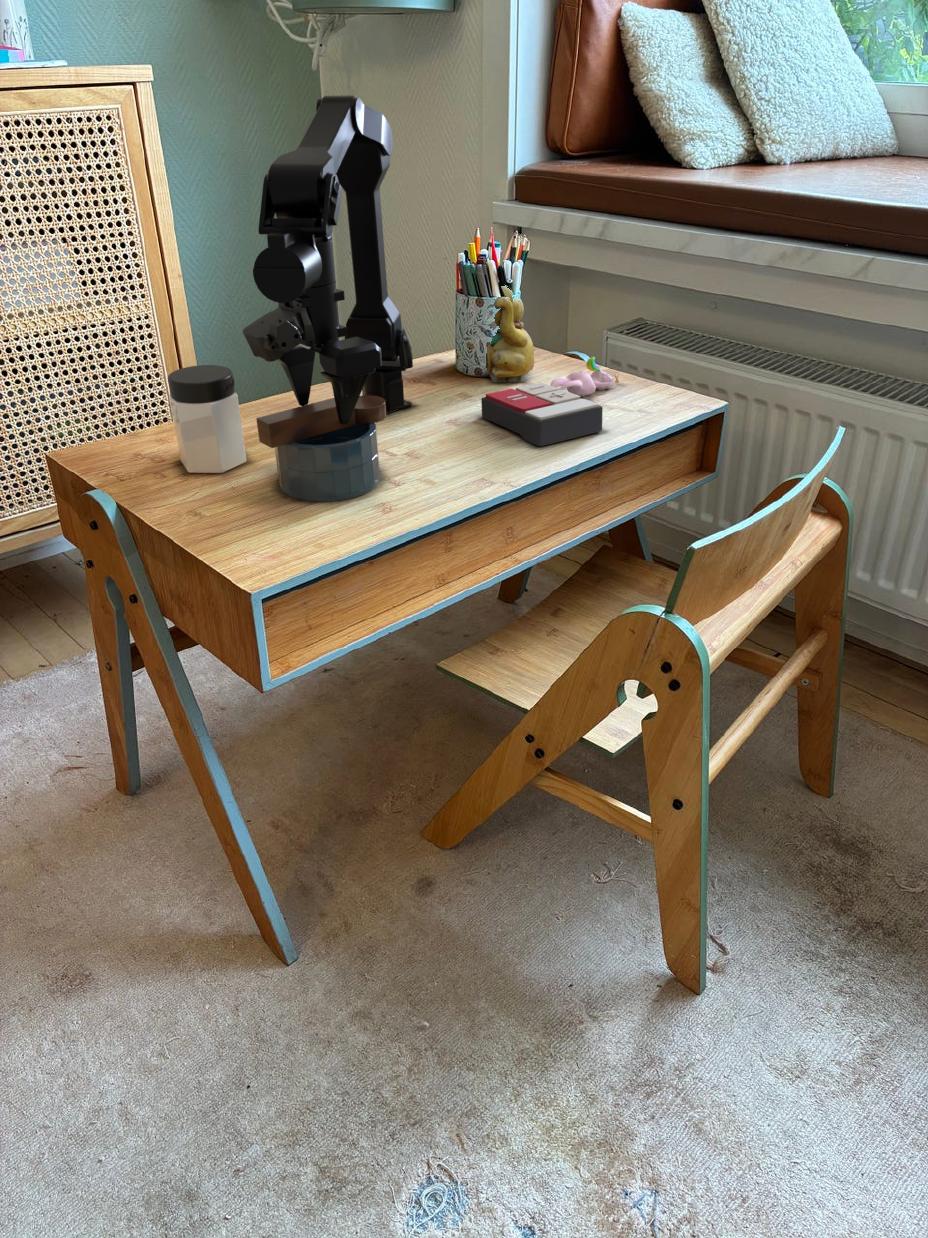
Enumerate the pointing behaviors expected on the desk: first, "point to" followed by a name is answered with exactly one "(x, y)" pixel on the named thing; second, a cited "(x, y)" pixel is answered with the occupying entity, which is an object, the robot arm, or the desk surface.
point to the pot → (330, 464)
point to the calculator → (542, 413)
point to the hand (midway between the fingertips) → (323, 414)
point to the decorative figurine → (509, 342)
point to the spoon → (316, 420)
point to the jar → (207, 418)
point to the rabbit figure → (586, 380)
